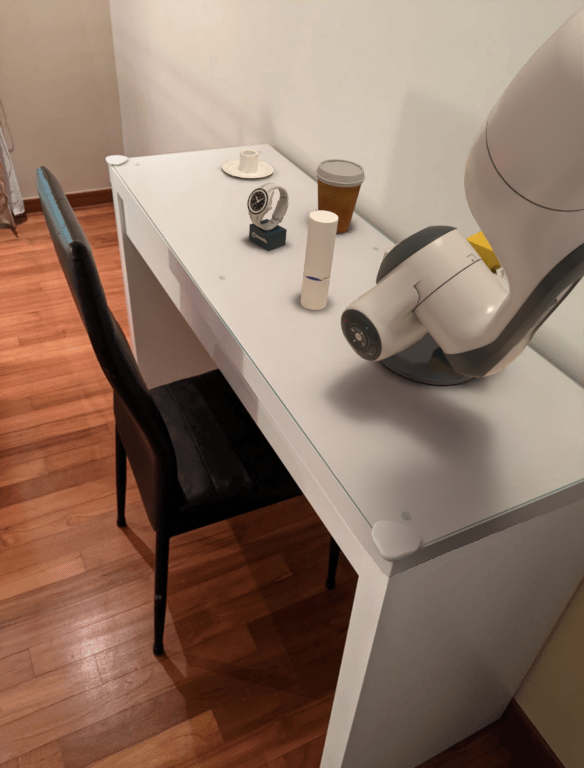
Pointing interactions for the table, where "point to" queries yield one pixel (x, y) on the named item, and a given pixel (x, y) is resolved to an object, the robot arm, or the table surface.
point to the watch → (267, 230)
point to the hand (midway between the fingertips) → (482, 263)
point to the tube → (318, 259)
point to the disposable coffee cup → (339, 189)
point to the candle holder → (247, 166)
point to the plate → (425, 364)
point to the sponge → (483, 249)
